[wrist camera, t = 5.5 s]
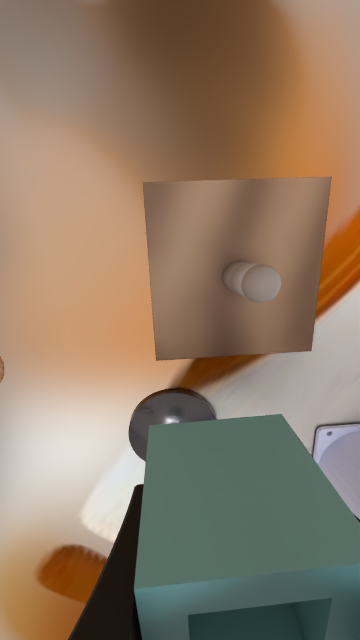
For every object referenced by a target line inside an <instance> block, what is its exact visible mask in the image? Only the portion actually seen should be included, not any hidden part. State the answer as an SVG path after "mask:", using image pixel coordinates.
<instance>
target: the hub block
mask: <svg viewBox="0 0 360 640" xmlns="http://www.w3.org/2000/svg"><path fill="white" fill-rule="evenodd" d="M331 178H332V177H306V178H274V179H273V178H271V179H238V180H205V181H175V182H174V181H171V182H143V192H144V204H145V219H146V231H147V244H148V259H149V272H150V285H151V298H152V312H153V325H154V338H155V351H156V360H157V361H158V360H174V359H190V358H206V357H222V356H238V355H254V354H270V353H286V352H302V351H311V349H312V341H313V332H314V323H315V315H316V306H317V298H318V289H319V281H320V272H321V264H322V255H323V246H324V238H325V229H326V221H327V212H328V204H329V195H330V186H331Z"/></svg>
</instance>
